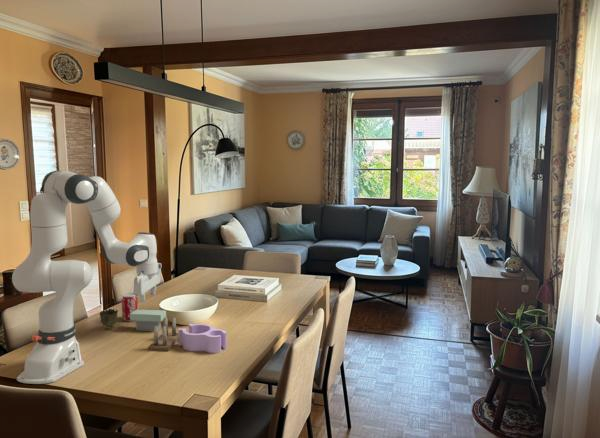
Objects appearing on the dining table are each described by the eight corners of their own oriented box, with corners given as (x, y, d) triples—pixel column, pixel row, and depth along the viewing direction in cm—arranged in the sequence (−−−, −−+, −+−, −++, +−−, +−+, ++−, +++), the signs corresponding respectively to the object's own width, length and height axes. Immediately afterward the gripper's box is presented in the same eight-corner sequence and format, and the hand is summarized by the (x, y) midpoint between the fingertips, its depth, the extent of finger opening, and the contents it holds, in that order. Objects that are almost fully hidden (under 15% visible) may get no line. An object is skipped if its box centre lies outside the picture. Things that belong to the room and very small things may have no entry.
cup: (96, 329, 204) (95, 312, 203) (110, 324, 211) (109, 307, 210) (108, 332, 201) (107, 315, 200) (121, 327, 207) (121, 310, 206)
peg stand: (167, 351, 182) (167, 329, 181) (148, 350, 183) (147, 328, 181) (181, 336, 197) (180, 316, 195) (163, 335, 197) (162, 315, 196)
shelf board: (166, 317, 206) (166, 310, 206) (160, 321, 200) (160, 315, 200) (136, 315, 208) (136, 309, 207) (130, 320, 202) (129, 313, 201)
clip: (232, 345, 188) (232, 329, 187) (214, 357, 177) (213, 340, 176) (194, 336, 197) (193, 321, 196) (174, 347, 186) (173, 331, 185)
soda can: (141, 317, 219) (140, 293, 218) (132, 322, 213) (131, 297, 211) (128, 316, 221) (127, 292, 220) (119, 321, 215) (118, 296, 213)
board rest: (158, 331, 203) (157, 320, 202) (136, 330, 204) (136, 319, 203) (161, 328, 206) (160, 317, 205) (139, 327, 207) (139, 317, 206)
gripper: (143, 275, 190) (144, 307, 193) (163, 262, 211) (164, 291, 213) (128, 274, 191) (130, 306, 193) (149, 262, 211) (151, 291, 213)
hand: (148, 298), depth 203 cm, fingers open, 8 cm apart
